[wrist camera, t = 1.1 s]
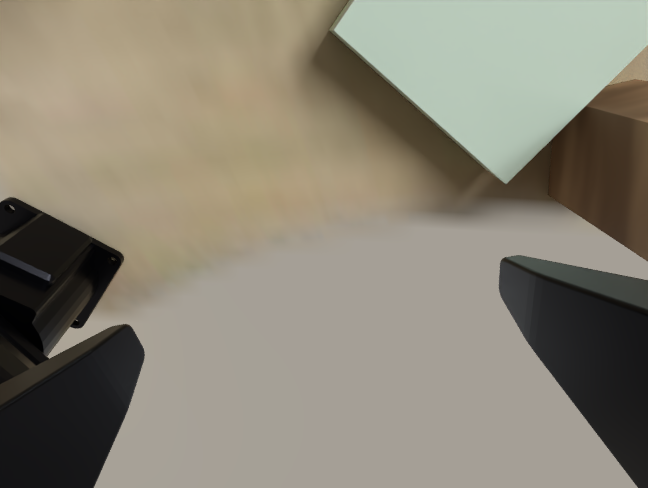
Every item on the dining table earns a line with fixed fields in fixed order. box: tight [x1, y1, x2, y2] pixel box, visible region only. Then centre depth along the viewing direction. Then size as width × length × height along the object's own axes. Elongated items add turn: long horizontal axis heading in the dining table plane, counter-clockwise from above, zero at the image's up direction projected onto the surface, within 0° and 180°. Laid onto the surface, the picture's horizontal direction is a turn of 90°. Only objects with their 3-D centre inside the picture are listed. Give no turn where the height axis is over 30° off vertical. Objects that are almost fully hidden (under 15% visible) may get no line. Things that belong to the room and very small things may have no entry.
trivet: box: [329, 0, 648, 184], centre depth 17 cm, size 11×11×2 cm
